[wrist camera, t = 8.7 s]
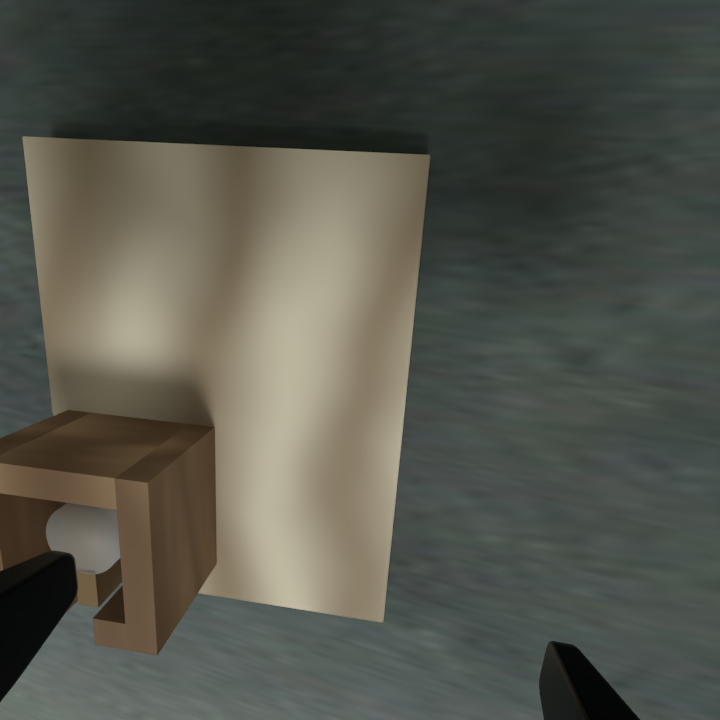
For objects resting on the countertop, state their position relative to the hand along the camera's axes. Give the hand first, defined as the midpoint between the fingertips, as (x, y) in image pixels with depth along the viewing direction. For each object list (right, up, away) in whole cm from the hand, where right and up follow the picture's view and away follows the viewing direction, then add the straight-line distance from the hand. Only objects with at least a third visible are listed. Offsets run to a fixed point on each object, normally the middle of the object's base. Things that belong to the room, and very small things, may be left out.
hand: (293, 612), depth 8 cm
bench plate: (-4, +3, +11) cm, 12 cm away
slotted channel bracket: (-8, -1, +10) cm, 13 cm away
